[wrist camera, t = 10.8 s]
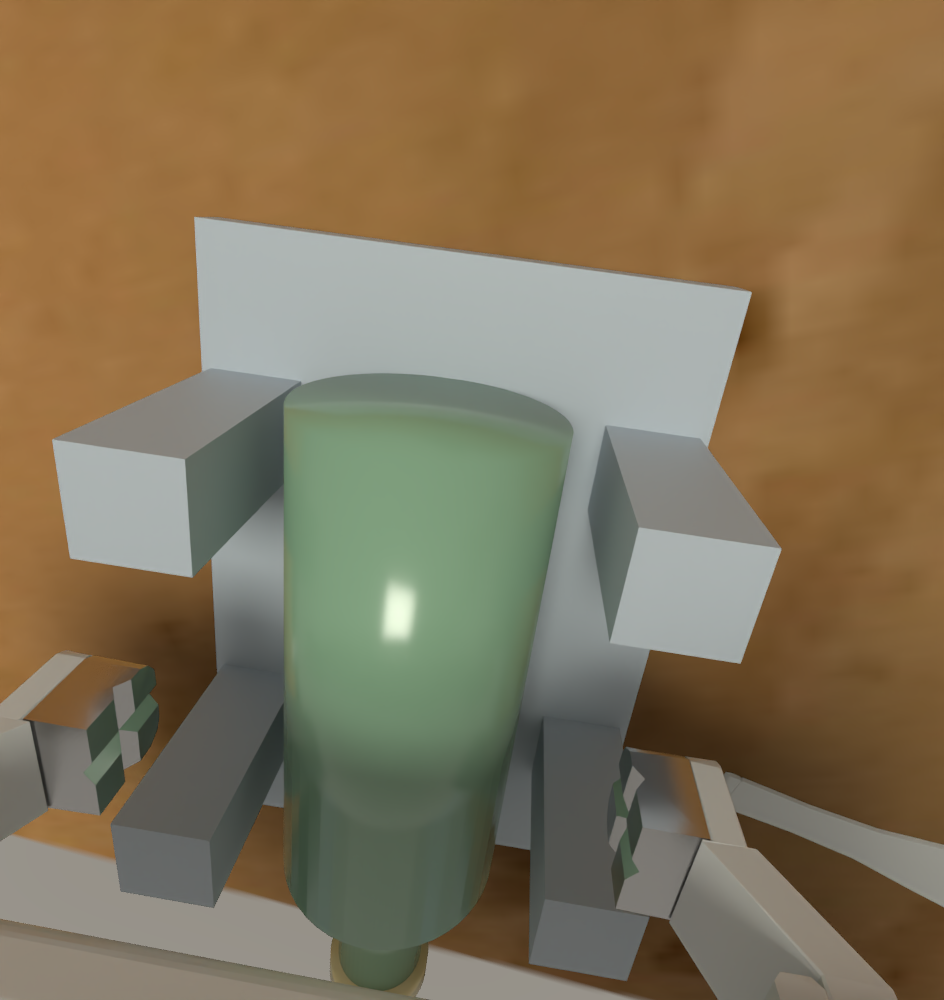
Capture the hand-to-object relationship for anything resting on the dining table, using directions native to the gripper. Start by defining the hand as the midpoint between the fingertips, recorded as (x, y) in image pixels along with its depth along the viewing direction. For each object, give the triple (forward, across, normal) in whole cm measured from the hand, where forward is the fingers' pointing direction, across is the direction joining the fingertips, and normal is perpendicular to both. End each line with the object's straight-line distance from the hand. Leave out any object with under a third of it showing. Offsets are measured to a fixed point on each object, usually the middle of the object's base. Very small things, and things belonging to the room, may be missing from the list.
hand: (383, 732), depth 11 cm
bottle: (+5, 0, +3) cm, 6 cm away
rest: (+6, 0, 0) cm, 6 cm away
